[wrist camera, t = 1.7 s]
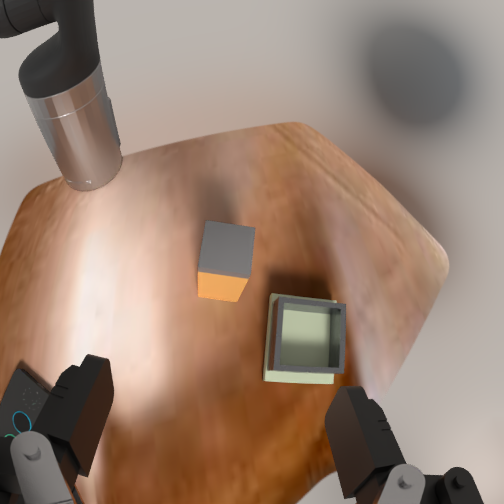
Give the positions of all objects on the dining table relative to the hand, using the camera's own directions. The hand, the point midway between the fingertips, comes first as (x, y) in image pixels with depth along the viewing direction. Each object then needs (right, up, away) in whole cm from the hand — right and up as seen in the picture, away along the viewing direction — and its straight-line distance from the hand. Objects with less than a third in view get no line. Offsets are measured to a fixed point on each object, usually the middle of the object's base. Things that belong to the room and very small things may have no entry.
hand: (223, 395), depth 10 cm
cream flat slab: (+6, -5, +25) cm, 27 cm away
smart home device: (-28, -19, +14) cm, 37 cm away
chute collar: (+7, -5, +24) cm, 25 cm away
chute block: (-3, +2, +26) cm, 27 cm away
